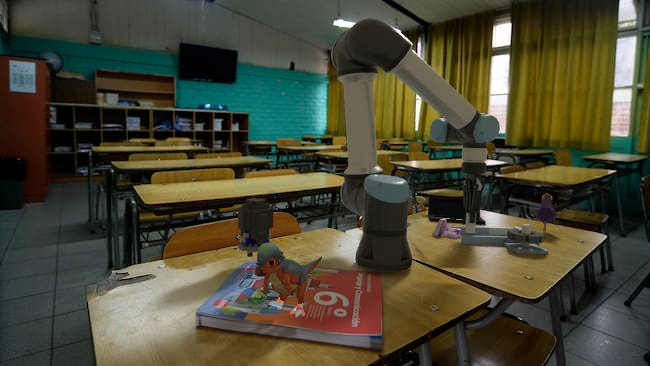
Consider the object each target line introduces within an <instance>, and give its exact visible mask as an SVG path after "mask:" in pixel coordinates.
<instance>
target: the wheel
mask: <svg viewBox="0 0 650 366" xmlns="http://www.w3.org/2000/svg"><path fill="white" fill-rule="evenodd" d="M521 232H522V228H521V229H514V230H512V229H511V230H508V232H507V235H506V236H507V238H509V239H511V240H514V241H518V242H524V243H526V242H527V243H540V244H542V243H545V241H546V234H544V232H539V231H536V230H531V233H530V234H521Z"/></svg>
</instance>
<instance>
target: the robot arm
mask: <svg viewBox="0 0 650 366" xmlns="http://www.w3.org/2000/svg"><path fill="white" fill-rule="evenodd" d="M330 50H331V52H330V59H331V62H332V66H334V68H335V69H336V73H337V80H338V81H339V82H340V83H341V84H342V85H343V98H344V99H343V100H344V113H345V114H344V115H345V130H346V131H345V132H346V146H347V163H348V164H347V168H346V169H345V170H344V172H343V178H344V179H343V180H344V182H343V183H342V184H341V187H340V191H339V192H340V199H341V202H342V204H343V205H344V206H345V208H346V209H347V210H348V211H349V212H351V213H353V214H355V215H357V216H360V217H362V218H363V219H362V221H363V223H362V235H361V238H360V239H359V243H358V247H357V249H356V252H355V260H354V261H356V262H355V264H356V263H357V264H358V266H359V267H361V268H364V269H366V270H370V271H375V270H376V272H387V273H389V272H390V273H391V272H393V273H394V271H396V272H402V271H401V270H404V271H407V270H409V269H411V268H412V267H411V265H412V266H413V256H412V250H411V247H410V244H409V240H408V236H407V232H408V230H407V229H408V227H407V222H408V213H409V212H408V198H409V189H410V186H409V182H407V180H406V179H404V178H402V177H399V176H394V175H388V174H384V169H383V168H382V167H381V166H380V165H378V153H377V150H378V149H377V138H376V137H377V134H376V132H377V131H376V130H377V129H376V115H375V112H376V111H375V97H374V95H375V92H374V81H375V80H376V79H377V78H378V76H379V74H378V73H379V71H378V68H380V69H381V70H382V71H383V72H384V73H386V74H393V75H394V76H395V77H396V78H398V80H400V81H401V82H402V83H403V84H404V85H406V86H407V87H408V88H409V89H410V90H411V91H412V92H413V93H415V94H416V95H417V96H418V97H420V99H421V100H423V101H424V102H425V103H426V104H427V105H428V106H429V107H430V108H432V110H434V111H435V112H436V113H437V114H439V116H441V117H442V118H441V117H440V118H435V119H434V120H433V121H432V122H431V123H430V126H429V136H430V138H431V140H432V141H433V142H435V143H442V144H445V143H448V144H449V143H451V144H453V143H454V144H457V143H458V144H462V150H461V152H462V153H461V160H462V162H461V173H462V174H466V175H465V180H462V183H461V184H462V188H463V189H462V190H463V192H462V193H463V196H462V197H464V209H466V225H465V226H466V228H465V232H466V233H475V227H476V225H477V224H476V214H477V213H479V211H480V212H481V206H482V205H481V204H482V198H483V191H484V189H485V184H484V183H483V184H482V177H481V176H482V175H485V174H486V173H487V162H486V161H487V158H488V155H489V151H488V146H489V145H488V143H490V142H493V141H494V140H495V139H497V137H498V135H499V134H500V130H501V127H500V125H501V124H500V122H499V119H498V118H497V117H496V116H494V115H491V114H487V113H481V112H480V111H479V110H478V109H477V108H475V107H474V106H473V105H472V104H471V103H470V102H469V101H468V100H467V99H466V98H465V97H464V96H463V95H462V94H460V93H459V92H458V91H457V90H456V89H455V88H454V87H453V86H452V85H451V84H450V83H449V82H448V81H447V80H446V79H445V78H443V76H441V74H439V73H438V72H437V71H436V70H435V69H434V68H433V67H432V66H431V65H429V63H427V61H425V60H424V59H423V58H422V57H421V55H419V54H418V53H416V52H415V50H413V43H412V42H411V40H409V39H408V38H407V37H406V36H405V35H404V34H402V32H400V31H399V30H398V29H396V28H395V27H393V26H392V25H390V24H388V23H387V22H385V21H383V20H381V19H377V18H372V17H371V18H363V19H361V20H359V21H357V22H356V23H353V24H352V26H351V27H350V28H349V29H347V30H345V31H343V32H342V33H340V34H339V36H338V37H337V38H336V40H334V42H333V45H332V46H331V49H330ZM410 267H411V268H410ZM408 268H409V269H408ZM406 269H407V270H406Z"/></svg>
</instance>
